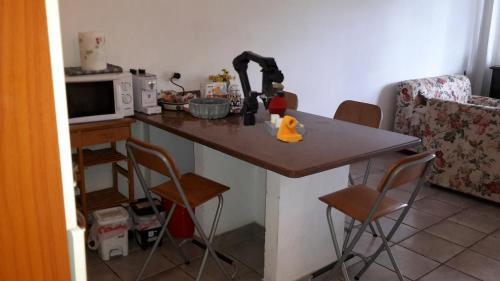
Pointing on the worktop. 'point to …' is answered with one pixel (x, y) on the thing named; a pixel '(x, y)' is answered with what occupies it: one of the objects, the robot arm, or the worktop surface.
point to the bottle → (278, 102)
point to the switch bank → (274, 130)
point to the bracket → (288, 130)
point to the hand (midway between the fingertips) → (266, 110)
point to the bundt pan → (209, 107)
